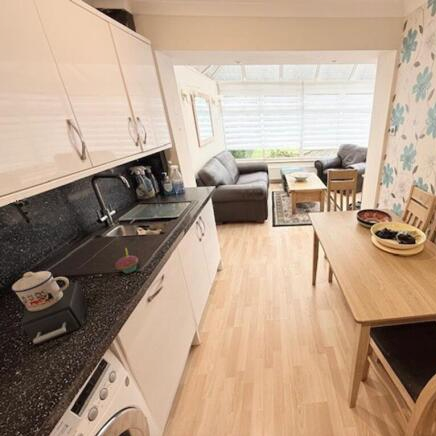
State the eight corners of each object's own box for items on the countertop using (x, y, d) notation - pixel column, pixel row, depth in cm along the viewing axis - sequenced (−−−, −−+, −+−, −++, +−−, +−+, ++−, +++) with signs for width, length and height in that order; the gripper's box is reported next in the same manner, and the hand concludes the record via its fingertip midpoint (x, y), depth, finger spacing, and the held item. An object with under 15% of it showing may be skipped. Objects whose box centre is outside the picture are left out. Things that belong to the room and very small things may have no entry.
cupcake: (140, 262, 112) (131, 241, 107) (141, 271, 106) (132, 249, 101) (119, 269, 108) (108, 247, 103) (119, 279, 102) (107, 256, 97)
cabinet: (83, 326, 80) (69, 305, 76) (36, 345, 74) (19, 323, 70) (88, 300, 91) (76, 281, 87) (48, 315, 86) (34, 295, 82)
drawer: (77, 336, 75) (65, 319, 72) (33, 355, 70) (18, 337, 67) (84, 303, 89) (74, 287, 85) (47, 316, 84) (36, 300, 81)
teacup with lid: (22, 317, 73) (0, 287, 68) (32, 299, 80) (12, 271, 75) (72, 300, 78) (54, 271, 73) (77, 284, 85) (61, 258, 80)
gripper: (-108, 185, 68) (-68, 242, 67) (14, 165, 87) (47, 209, 86) (-94, 199, 73) (-56, 252, 72) (19, 178, 92) (50, 220, 91)
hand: (0, 229), depth 79 cm, fingers open, 13 cm apart
